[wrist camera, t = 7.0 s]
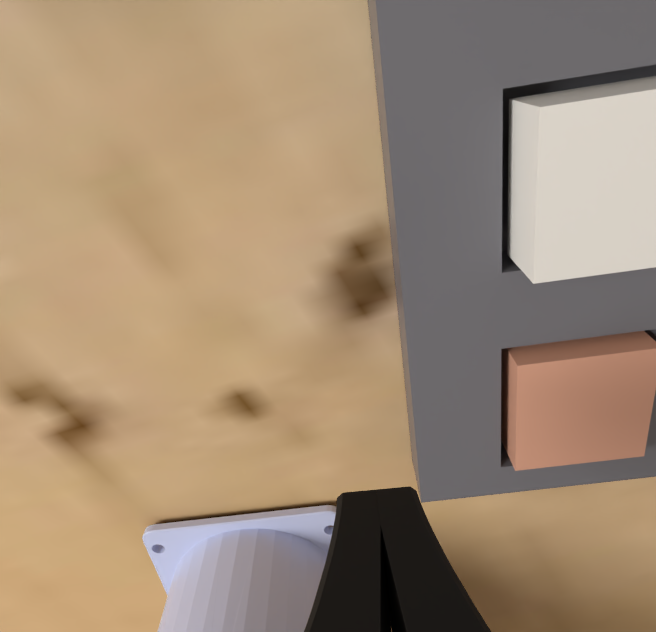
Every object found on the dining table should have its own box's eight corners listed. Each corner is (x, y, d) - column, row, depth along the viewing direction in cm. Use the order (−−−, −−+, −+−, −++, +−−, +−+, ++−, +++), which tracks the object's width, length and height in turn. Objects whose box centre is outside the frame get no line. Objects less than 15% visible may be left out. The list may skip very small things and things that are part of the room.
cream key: (656, 233, 14) (705, 260, 12) (507, 254, 14) (533, 283, 12) (680, 71, 12) (742, 75, 10) (509, 99, 12) (539, 107, 11)
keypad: (685, 429, 19) (722, 469, 17) (412, 461, 20) (421, 502, 18) (875, -466, 10) (1001, -584, 8) (333, -351, 10) (336, -435, 8)
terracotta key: (612, 416, 18) (643, 455, 16) (496, 430, 18) (515, 470, 17) (625, 315, 16) (662, 347, 14) (496, 331, 16) (517, 365, 15)
